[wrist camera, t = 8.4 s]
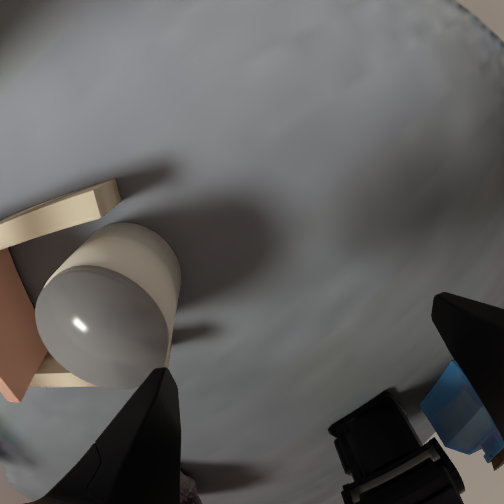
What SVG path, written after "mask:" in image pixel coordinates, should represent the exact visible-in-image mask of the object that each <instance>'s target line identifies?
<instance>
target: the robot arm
mask: <svg viewBox="0 0 504 504" xmlns="http://www.w3.org/2000/svg"><path fill="white" fill-rule="evenodd" d="M431 317H432V321H433V323H434V324H435V326H436V328H437V330H438V332H439V333H440V335H441V337H442V339H443V341H444V342H445V344H446V346H447V348H448V350H449V351H450V353H451V355H452V356H453V358H454V359H455V361H456V362H457V364H458V365H459V367H460V368H461V370H462V371H463V373H464V374H465V376H466V377H467V379H468V381H469V382H470V384H471V385H472V387H473V389H474V390H475V392H476V393H477V395H478V397H479V398H480V400H481V402H482V403H483V405H484V407H485V408H486V410H487V412H488V413H489V415H490V417H491V419H492V420H493V422H494V424H495V426H496V428H497V429H498V431H499V433H500V435H501V437H502V438H503V441H504V309H502V308H498V307H495V306H491V305H488V304H485V303H481V302H478V301H475V300H471V299H468V298H464V297H461V296H457V295H454V294H451V293H447V292H442V293H439V294H437V295H435V297H434V299H433V306H432V313H431ZM406 416H407V412H406V410H405V409H404V408H403V407H402V406H401V405H400V404H399V402H398V401H397V400H396V399H395V398H394V397H393V396H392V395H391V393H390V392H388V391H387V392H384V393H382V394H381V395H380V396H378V397H377V398H375V399H374V400H372V401H371V402H369V403H368V404H366V405H365V406H363V407H362V408H360V409H359V410H357V411H356V412H354V413H352V414H351V415H349V416H348V417H346V418H344V419H343V420H341V421H339V422H338V423H336V424H334V425H333V426H331V427H330V428H329V429H328V431H329V433H330V434H331V435H333V436H334V437H336V438H337V439H335V441H334V444H335V447H336V450H337V452H338V455H339V458H340V460H341V463H342V466H343V469H344V471H345V474H348V475H351V476H352V477H353V479H354V482H353V483H350V484H349V483H348V484H346V485H343V491H342V492H341V494H342V497H343V500H344V503H345V504H464V503H463V501H462V499H461V497H460V494H461V493H463V492H464V491H465V487H464V484H463V481H462V479H461V477H460V475H459V473H458V471H457V469H456V468H455V466H454V465H453V463H452V462H451V460H450V459H449V457H448V456H447V454H446V453H445V452H444V450H443V449H442V447H441V446H440V444H439V443H438V441H437V440H436V439H435V437H434V438H432V439H431V440H429V442H428V443H426V444H424V445H423V444H422V443H421V441H420V439H419V437H418V436H417V434H416V432H415V430H414V429H413V427H412V425H411V424H410V422H409V420H408V418H407V417H406ZM180 457H181V423H180V411H179V398H178V388H177V385H176V383H175V381H174V379H173V377H172V375H171V373H170V371H169V370H168V368H166V367H161V368H155V369H153V371H152V372H151V373H150V374H149V375H148V377H147V378H146V379H145V380H144V382H143V383H142V384H141V385H140V387H139V388H138V389H137V390H136V392H135V393H134V394H133V395H132V397H131V398H130V399H129V400H128V402H127V403H126V404H125V405H124V406H123V408H122V409H121V410H120V411H119V413H118V414H117V415H116V416H115V418H114V419H113V420H112V421H111V423H110V424H109V425H108V426H107V428H106V429H105V430H104V431H103V433H102V434H101V435H100V436H99V438H98V439H97V440H96V441H95V443H94V444H93V445H92V446H91V447H90V449H89V450H88V451H87V452H86V453H85V455H84V456H83V457H82V458H81V459H80V461H79V462H78V463H77V464H76V465H75V466H74V467H73V468H72V469H71V470H70V471H69V472H68V473H67V474H66V475H65V476H64V477H63V478H62V479H61V480H60V481H59V482H58V483H57V484H56V485H55V486H54V487H53V488H52V489H51V490H50V491H49V492H48V493H47V494H46V495H45V496H43V497H42V498H40V499H38V500H36V501H34V502H30V503H25V504H180Z"/></svg>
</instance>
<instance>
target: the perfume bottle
mask: <svg viewBox="0 0 504 504" xmlns="http://www.w3.org/2000/svg"><path fill="white" fill-rule="evenodd" d="M420 407H421V409H422V410H423V412H424V413H425V415H426V416H427V418H428V420H429V421H430V423H431V424H432V426H433V428H434V429H435V431H436V432H437V434H438V436H439V437H440V439H441V440H442V442H443V444H444V446H445V447H448V448H450V449H453V450H457V451H459V452H462V453H465V454H468V455H470V454H472V453H474V452H476V451H478V450H480V449H483V451H484V452H485V455H484V458H485V459H486V461H487V463H490V462H492V465H493V468H494V471H495V470H497V469H498V468H499V467H500V466H502V465H503V464H504V441H503V438H502V437H501V435H500V433H499V431H498V429H497V428H496V426H495V424H494V422H493V420H492V419H491V417H490V415H489V413H488V412H487V410H486V408H485V407H484V405H483V403H482V402H481V400H480V398H479V397H478V395H477V393H476V392H475V390H474V389H473V387H472V385H471V384H470V382H469V381H468V379H467V377H466V376H465V374H464V373H463V371H462V370H461V368H460V367H459V365H458V364H457V362H456V361H455V360H452V361H451V362H450V364H449V365H448V367H447V368H446V370H445V371H444V372H443V374H442V375H441V377H440V378H439V380H438V381H437V382H436V384H435V385H434V386H433V388H432V389H431V390H430V392H429V393H428V394H427V396H426V397H425V398H424V400H423V401H422V402H421V403H420Z"/></svg>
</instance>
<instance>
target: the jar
mask: <svg viewBox="0 0 504 504" xmlns="http://www.w3.org/2000/svg"><path fill="white" fill-rule="evenodd" d="M180 287H181V270H180V265H179V262H178V259H177V257H176V255H175V253H174V251H173V250H172V249H171V247H170V246H169V245H168V243H167V242H166V241H165V240H164V239H163V238H162V237H161V236H159V235H158V234H157V233H155V232H154V231H152V230H150V229H148V228H146V227H144V226H141V225H138V224H134V223H126V222H123V223H114V224H109V225H107V226H104V227H102V228H100V229H99V230H97V231H96V232H94V233H93V234H92V235H91V236H90V237H89V238H88V239H87V240H86V241H85V242H84V243H83V244H82V245H81V246H80V247H79V248H78V249H77V250H76V251H75V252H74V253H73V254H72V255H71V256H70V257H69V258H68V259H67V260H66V261H65V262H64V263H63V264H62V265H61V266H60V267H59V268H58V269H57V270H56V271H55V273H54V274H53V275H52V276H51V277H50V278H49V279H48V281H47V282H46V284H45V286H44V288H43V290H42V291H41V293H40V295H39V297H38V300H37V303H36V308H35V319H36V325H37V329H38V332H39V335H40V337H41V339H42V341H43V343H44V345H45V347H46V348H47V350H48V351H49V352H50V354H51V355H52V356H53V357H54V359H55V360H56V361H57V362H58V363H59V364H60V365H62V366H63V367H64V368H65V369H66V370H68V371H69V372H70V373H72V374H73V375H75V376H77V377H78V378H80V379H82V380H84V381H86V382H88V383H91V384H94V385H97V386H100V387H104V388H110V389H130V388H135V387H139V386H140V385H141V384H142V383H143V382H144V380H145V379H146V378H147V377H148V375H149V374H150V373H151V372H152V371H153V369H155V368H161V367H163V366H164V364H165V361H166V358H167V356H168V353H169V350H170V346H171V340H172V334H173V328H174V321H175V315H176V310H177V304H178V298H179V293H180Z"/></svg>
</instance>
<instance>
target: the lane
mask: <svg viewBox="0 0 504 504" xmlns="http://www.w3.org/2000/svg"><path fill="white" fill-rule="evenodd" d="M120 202H121V198H120V194H119V190H118V186H117V183H116V179H112V180H108V181H105V182H102V183H99V184H96V185H92V186H89V187H86V188H83V189H80V190H77V191H74V192H71V193H68V194H66V195H63V196H60V197H57V198H54V199H52V200H49V201H46V202H43V203H41V204H38V205H36V206H33V207H31V208H28V209H25V210H23V211H21V212H18V213H16V214H13V215H11V216H9V217H6V218H4V219H2V220H0V250H2V249H5V248H7V247H10V246H13V245H16V244H19V243H22V242H25V241H28V240H31V239H34V238H37V237H40V236H43V235H46V234H49V233H52V232H56V231H59V230H62V229H65V228H69V227H72V226H75V225H79V224H82V223H85V222H89V221H92V220H96V219H100V218H102V217H103V216H104V215H105V214H107V213H108V212H109V211H110V210H111V209H112V208H114V207H115V206H116V205H117V204H119V203H120ZM170 352H171V346H170V350H169V353H168V356H167V358H166V361H165V364H164V366H163V367H166V368H168V366H169V359H170ZM87 386H97V385H94V384H91V383H88V382H86V381H84V380H82V379H80V378H78V377H77V376H75V375H73V374H72V373H70V372H69V371H68V370H66V369H65V368H64V367H63V366H62V365H60V364H59V363H58V362H57V361H56V360H55V359H54V357H53V356H52V355H51V354H50V352H49V351H48V352H47V354H46V355H45V357H44V359H43V361H42V362H41V364H40V366H39V368H38V370H37V372H36V373H35V375H34V377H33V379H32V381H31V383H30V385H29V387H87Z"/></svg>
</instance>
